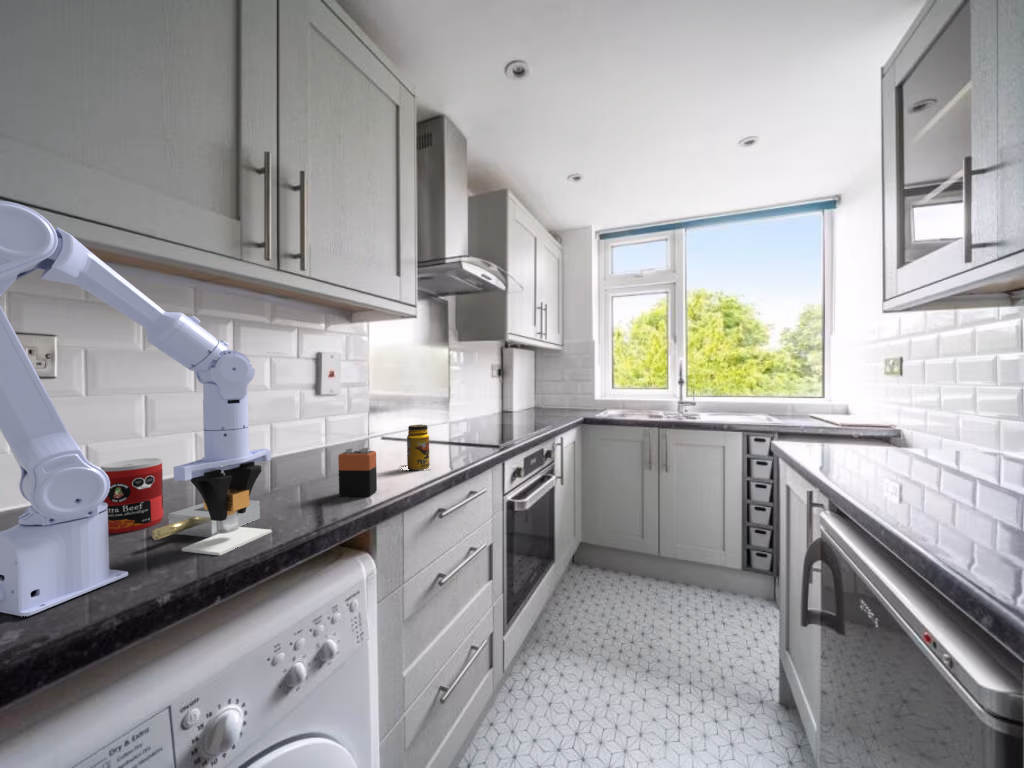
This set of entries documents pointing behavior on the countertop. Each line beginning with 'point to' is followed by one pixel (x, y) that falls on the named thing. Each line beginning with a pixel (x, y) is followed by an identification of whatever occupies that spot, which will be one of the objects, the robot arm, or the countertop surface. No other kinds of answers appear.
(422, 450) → the condiment
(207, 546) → the mat
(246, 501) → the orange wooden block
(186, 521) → the hollow block with rod
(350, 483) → the battery
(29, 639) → the countertop surface
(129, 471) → the canned food
